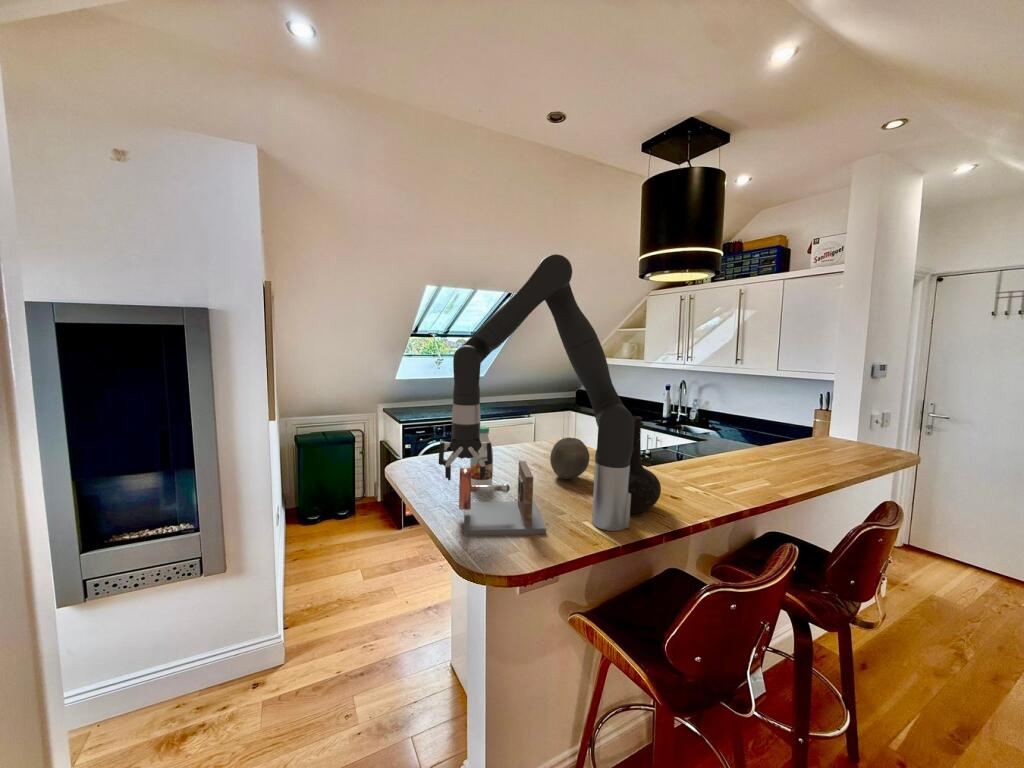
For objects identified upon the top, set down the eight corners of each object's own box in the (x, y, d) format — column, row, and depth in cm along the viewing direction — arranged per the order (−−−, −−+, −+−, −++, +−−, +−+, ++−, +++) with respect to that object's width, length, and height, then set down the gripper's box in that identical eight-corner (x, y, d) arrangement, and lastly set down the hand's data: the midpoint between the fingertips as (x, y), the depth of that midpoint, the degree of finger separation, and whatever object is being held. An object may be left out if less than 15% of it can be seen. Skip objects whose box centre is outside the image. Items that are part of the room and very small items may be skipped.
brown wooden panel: (524, 504, 122) (525, 461, 120) (531, 525, 108) (533, 477, 107) (515, 504, 122) (516, 461, 120) (521, 525, 108) (523, 477, 106)
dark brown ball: (545, 482, 145) (547, 440, 144) (553, 470, 159) (555, 432, 157) (586, 487, 141) (588, 445, 140) (590, 475, 155) (592, 436, 153)
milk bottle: (465, 484, 141) (466, 426, 139) (482, 479, 147) (483, 423, 145) (479, 490, 136) (480, 430, 134) (496, 485, 141) (498, 427, 139)
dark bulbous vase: (617, 522, 115) (623, 423, 112) (588, 498, 132) (593, 411, 129) (672, 517, 119) (679, 421, 116) (637, 494, 136) (643, 410, 133)
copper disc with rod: (507, 499, 120) (508, 462, 118) (511, 515, 109) (512, 475, 107) (459, 500, 118) (460, 462, 117) (458, 516, 107) (459, 475, 106)
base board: (534, 506, 124) (534, 501, 124) (546, 534, 107) (546, 528, 106) (464, 507, 122) (464, 502, 122) (464, 535, 104) (464, 530, 104)
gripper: (492, 418, 115) (490, 474, 116) (440, 417, 113) (439, 475, 115) (493, 423, 107) (492, 484, 109) (438, 423, 106) (437, 484, 107)
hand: (465, 479), depth 112 cm, fingers open, 8 cm apart
